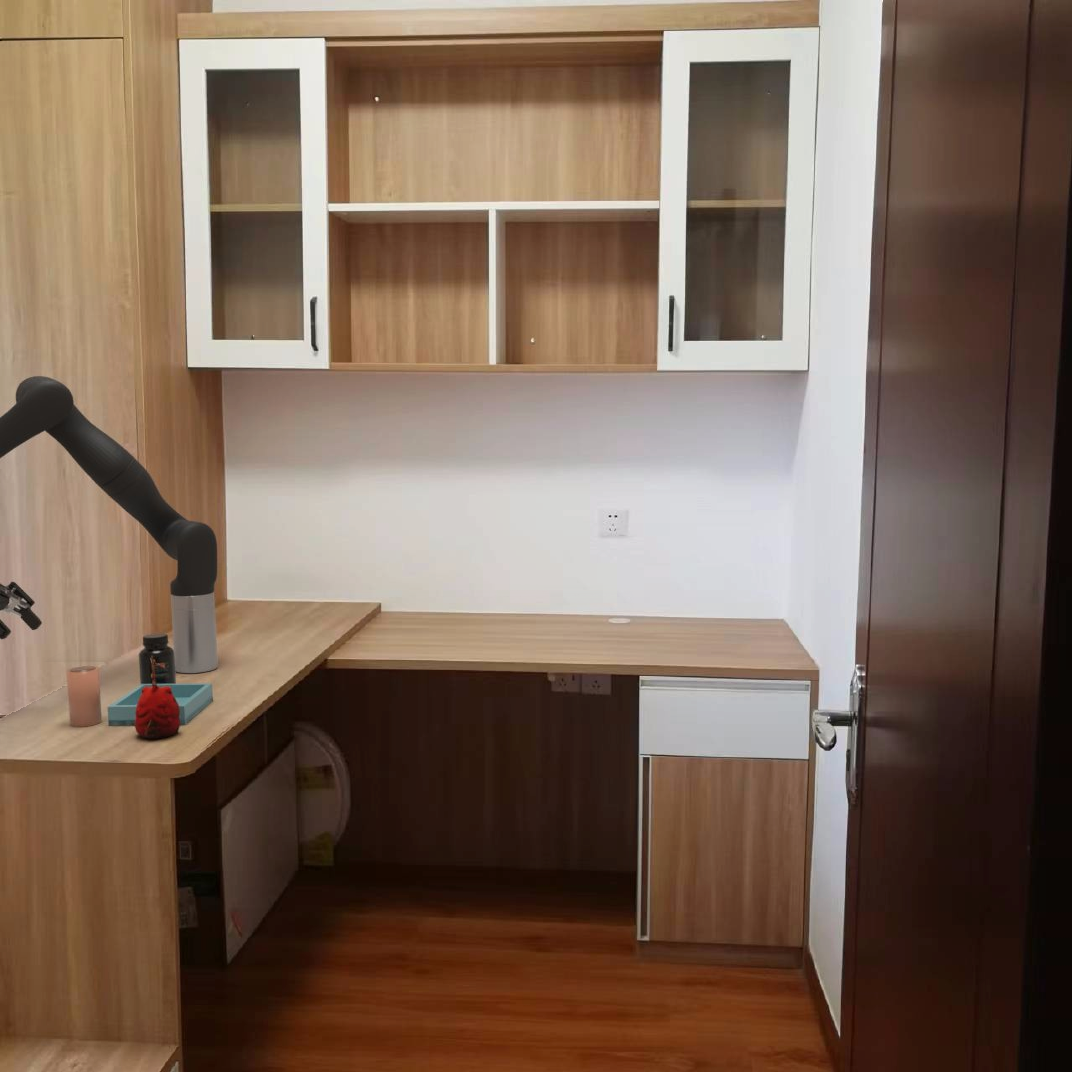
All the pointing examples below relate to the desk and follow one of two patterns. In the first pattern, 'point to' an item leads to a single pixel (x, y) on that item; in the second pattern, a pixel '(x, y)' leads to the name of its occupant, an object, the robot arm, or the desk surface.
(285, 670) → the desk surface
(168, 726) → the red clay folk toy
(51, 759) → the desk surface
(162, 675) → the supplement bottle
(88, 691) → the terracotta cup
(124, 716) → the teal tray
